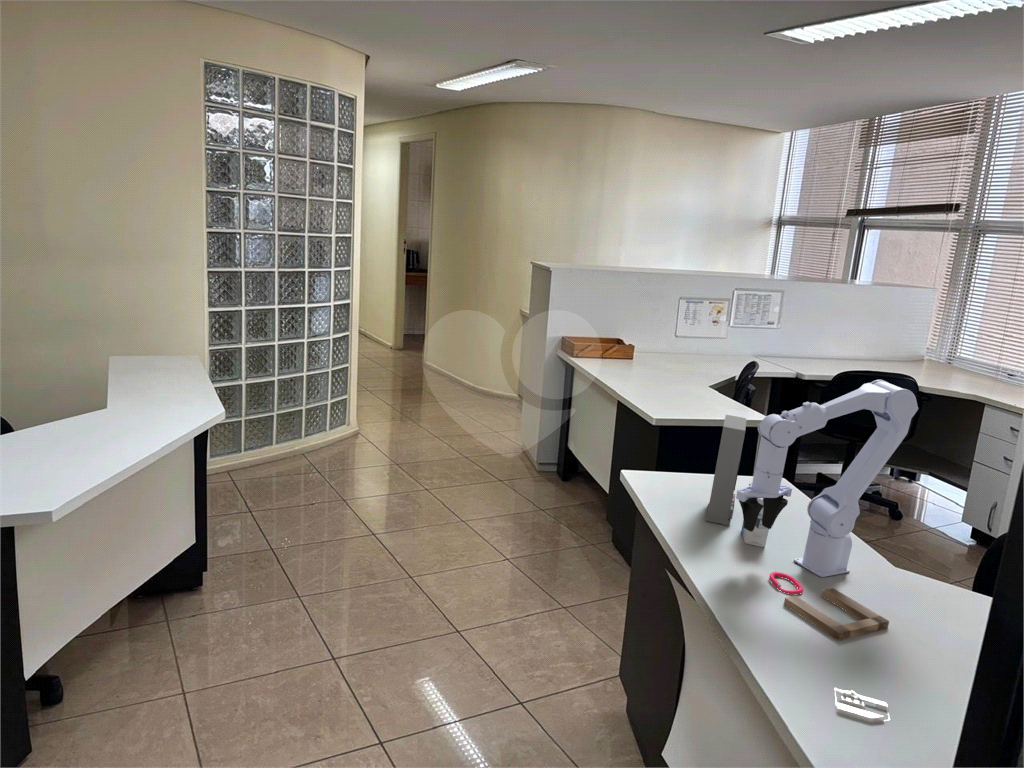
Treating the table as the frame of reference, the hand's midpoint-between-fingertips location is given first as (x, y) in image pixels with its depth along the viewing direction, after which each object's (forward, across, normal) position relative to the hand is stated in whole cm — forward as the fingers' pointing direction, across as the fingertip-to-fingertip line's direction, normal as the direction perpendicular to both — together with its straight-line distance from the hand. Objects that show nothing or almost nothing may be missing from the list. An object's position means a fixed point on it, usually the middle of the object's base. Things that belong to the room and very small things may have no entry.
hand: (757, 528), depth 159 cm
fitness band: (+9, 0, +10) cm, 13 cm away
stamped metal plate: (+9, +20, +44) cm, 49 cm away
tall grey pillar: (+9, -13, -24) cm, 29 cm away
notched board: (+8, 0, +22) cm, 24 cm away
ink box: (+9, -11, -10) cm, 17 cm away
